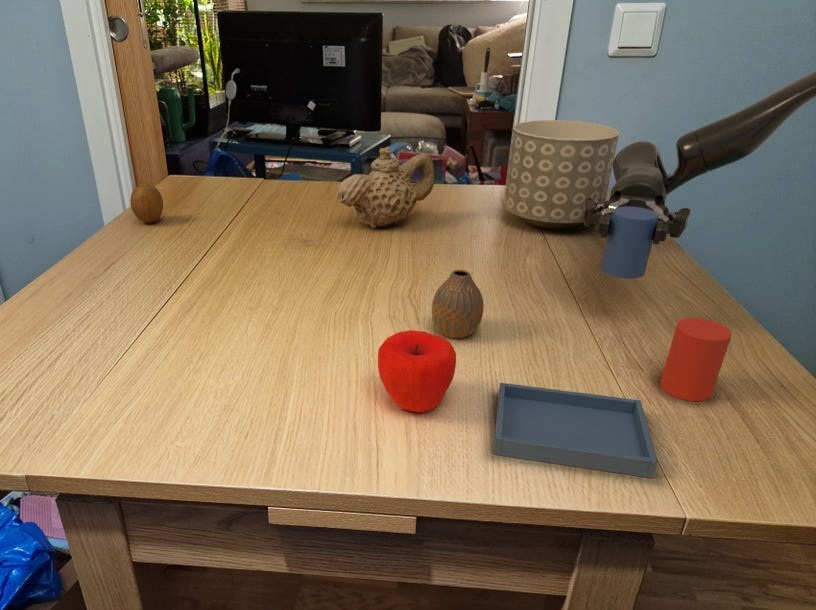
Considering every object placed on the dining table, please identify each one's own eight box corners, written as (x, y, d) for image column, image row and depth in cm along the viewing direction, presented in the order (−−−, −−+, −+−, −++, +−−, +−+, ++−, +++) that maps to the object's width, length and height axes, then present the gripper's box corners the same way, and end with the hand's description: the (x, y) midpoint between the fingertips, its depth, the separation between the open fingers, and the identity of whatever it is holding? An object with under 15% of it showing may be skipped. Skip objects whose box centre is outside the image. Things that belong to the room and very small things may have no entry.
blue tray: (636, 415, 74) (640, 400, 73) (652, 478, 64) (657, 462, 64) (497, 396, 77) (500, 382, 76) (493, 454, 68) (495, 438, 67)
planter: (536, 203, 145) (550, 116, 136) (618, 224, 132) (638, 130, 123) (482, 221, 134) (493, 128, 125) (565, 245, 122) (583, 144, 113)
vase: (488, 329, 92) (496, 270, 88) (467, 348, 87) (474, 287, 83) (443, 316, 96) (448, 259, 91) (421, 335, 91) (425, 275, 86)
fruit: (169, 218, 135) (164, 179, 131) (159, 228, 130) (154, 187, 126) (140, 217, 136) (134, 178, 132) (128, 227, 130) (122, 186, 127)
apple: (366, 386, 79) (367, 328, 75) (435, 378, 81) (440, 320, 77) (388, 429, 71) (391, 367, 68) (464, 419, 73) (471, 357, 69)
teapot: (353, 241, 124) (354, 159, 116) (324, 223, 132) (324, 146, 125) (445, 224, 132) (452, 147, 125) (413, 209, 141) (417, 136, 134)
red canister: (705, 379, 81) (725, 320, 77) (716, 404, 76) (737, 342, 72) (656, 373, 82) (672, 315, 78) (664, 397, 77) (682, 337, 73)
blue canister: (641, 265, 91) (655, 208, 87) (647, 280, 86) (662, 220, 83) (598, 261, 92) (610, 205, 88) (602, 276, 88) (615, 217, 84)
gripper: (683, 230, 97) (685, 269, 84) (581, 218, 102) (567, 253, 89) (697, 179, 93) (701, 211, 80) (590, 169, 99) (577, 197, 85)
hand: (630, 233), depth 84 cm, fingers closed on blue canister, 5 cm apart
